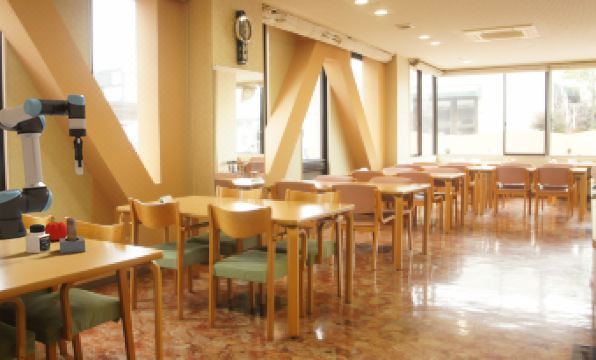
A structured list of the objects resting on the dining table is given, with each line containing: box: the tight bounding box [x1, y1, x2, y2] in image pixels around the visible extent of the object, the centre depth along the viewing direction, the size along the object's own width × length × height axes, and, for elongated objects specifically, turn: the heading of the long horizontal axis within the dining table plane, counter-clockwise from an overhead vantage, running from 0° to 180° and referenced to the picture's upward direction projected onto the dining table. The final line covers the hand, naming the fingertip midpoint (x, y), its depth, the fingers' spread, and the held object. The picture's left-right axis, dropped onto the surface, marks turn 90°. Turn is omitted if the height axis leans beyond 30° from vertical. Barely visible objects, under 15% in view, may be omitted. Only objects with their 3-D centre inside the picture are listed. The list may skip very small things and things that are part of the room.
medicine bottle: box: [24, 223, 51, 254], centre depth 241 cm, size 7×7×12 cm
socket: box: [58, 236, 86, 255], centre depth 242 cm, size 10×10×5 cm
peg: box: [65, 217, 78, 241], centre depth 242 cm, size 4×4×14 cm
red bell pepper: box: [44, 221, 67, 241], centre depth 267 cm, size 11×11×9 cm
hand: (79, 173), depth 258 cm, fingers open, 13 cm apart
